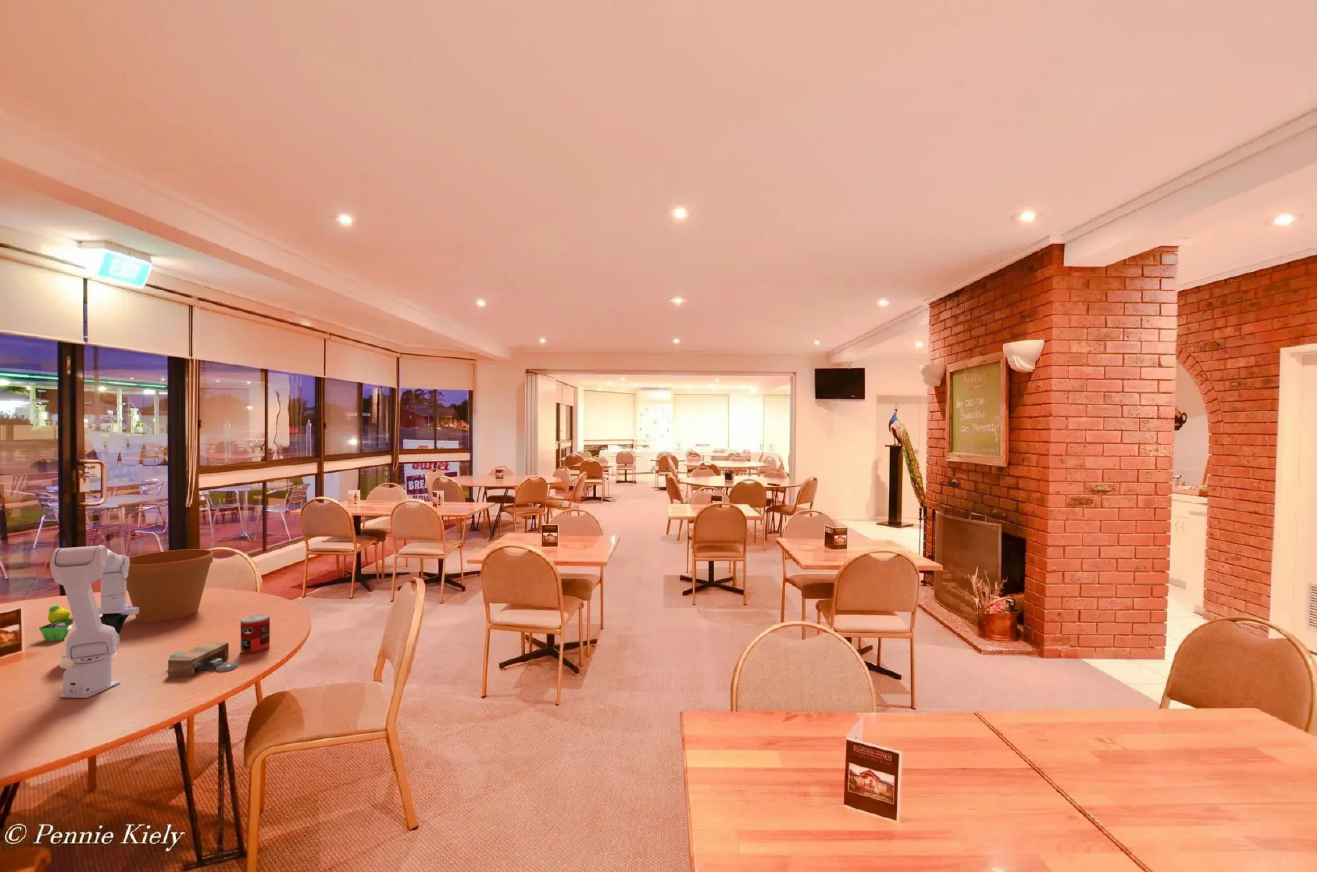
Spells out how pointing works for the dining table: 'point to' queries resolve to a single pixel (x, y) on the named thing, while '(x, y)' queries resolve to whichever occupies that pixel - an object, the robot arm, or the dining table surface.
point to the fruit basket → (57, 624)
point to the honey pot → (63, 657)
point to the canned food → (255, 633)
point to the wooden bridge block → (196, 658)
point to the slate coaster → (227, 666)
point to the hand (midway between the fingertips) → (113, 637)
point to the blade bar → (203, 662)
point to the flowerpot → (167, 583)
